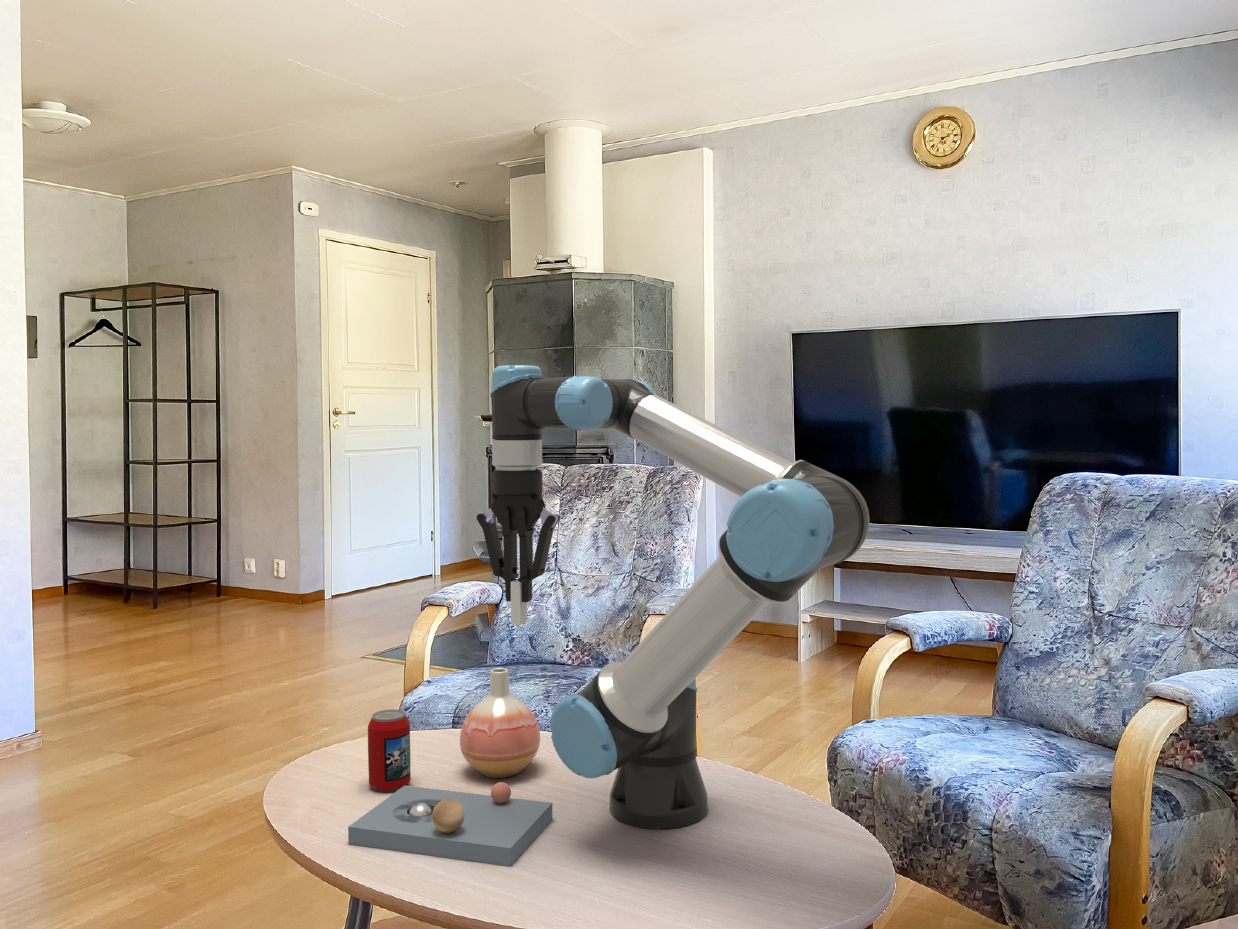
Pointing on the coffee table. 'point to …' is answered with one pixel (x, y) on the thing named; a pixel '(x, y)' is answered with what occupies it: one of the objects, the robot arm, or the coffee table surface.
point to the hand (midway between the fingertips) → (519, 622)
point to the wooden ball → (448, 815)
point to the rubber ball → (500, 792)
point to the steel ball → (420, 810)
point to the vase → (499, 731)
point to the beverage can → (389, 750)
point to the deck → (480, 838)
